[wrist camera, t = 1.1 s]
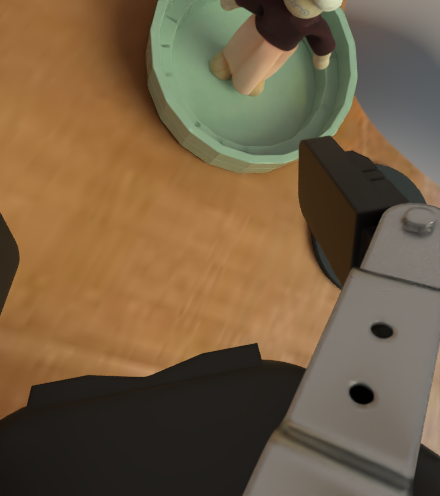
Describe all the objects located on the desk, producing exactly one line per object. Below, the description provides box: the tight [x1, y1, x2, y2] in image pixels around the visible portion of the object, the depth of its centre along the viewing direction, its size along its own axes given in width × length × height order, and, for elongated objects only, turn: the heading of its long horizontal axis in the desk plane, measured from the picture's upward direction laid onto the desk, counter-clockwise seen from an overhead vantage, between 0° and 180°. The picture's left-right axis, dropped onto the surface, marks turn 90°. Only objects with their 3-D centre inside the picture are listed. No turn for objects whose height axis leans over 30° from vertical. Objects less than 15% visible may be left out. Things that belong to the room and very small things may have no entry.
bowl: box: [146, 0, 357, 173], centre depth 30 cm, size 15×15×4 cm
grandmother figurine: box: [209, 0, 343, 97], centre depth 25 cm, size 8×4×13 cm, turn 75°
